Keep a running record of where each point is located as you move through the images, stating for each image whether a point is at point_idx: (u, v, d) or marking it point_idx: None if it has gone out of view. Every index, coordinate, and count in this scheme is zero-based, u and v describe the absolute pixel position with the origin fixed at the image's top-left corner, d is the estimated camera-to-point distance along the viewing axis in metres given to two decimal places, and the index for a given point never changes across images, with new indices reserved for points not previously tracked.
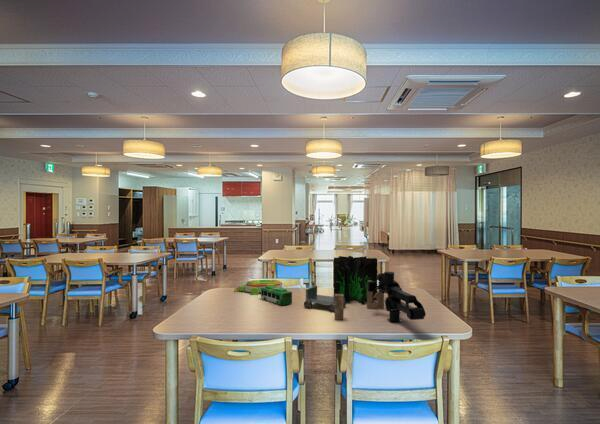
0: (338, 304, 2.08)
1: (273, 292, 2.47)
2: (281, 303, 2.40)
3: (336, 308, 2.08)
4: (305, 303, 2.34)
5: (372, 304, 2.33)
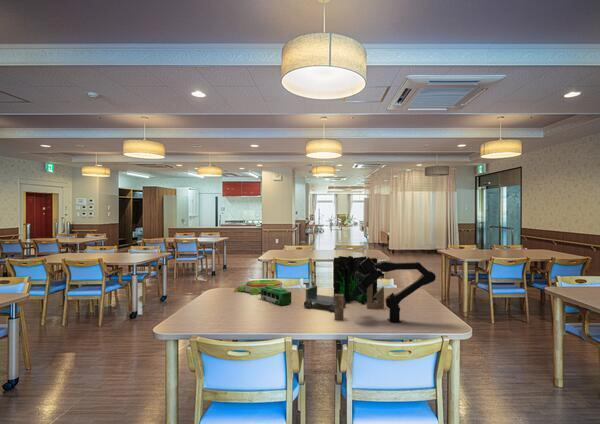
0: (338, 304, 2.08)
1: (272, 292, 2.47)
2: (280, 303, 2.40)
3: (336, 308, 2.08)
4: (305, 303, 2.34)
5: (372, 304, 2.33)
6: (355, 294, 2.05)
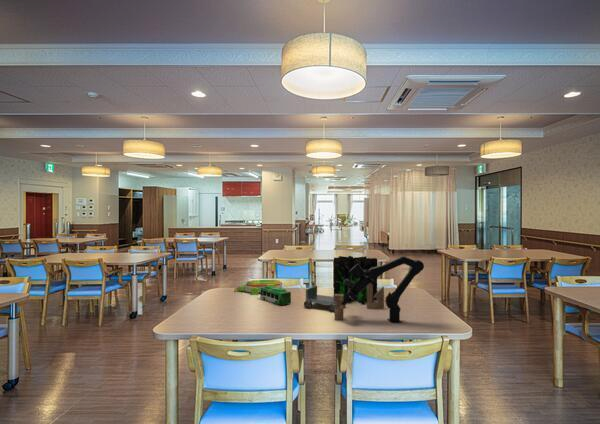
0: (338, 304, 2.08)
1: (272, 292, 2.47)
2: (280, 303, 2.40)
3: (336, 308, 2.08)
4: (305, 303, 2.34)
5: (372, 304, 2.33)
6: (345, 301, 2.04)
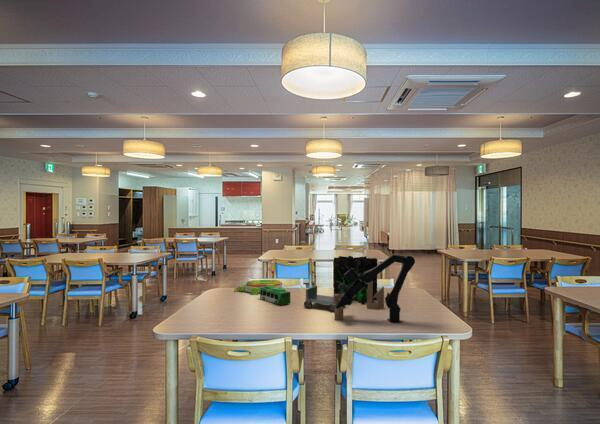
0: None
1: (272, 292, 2.47)
2: (279, 303, 2.40)
3: (336, 308, 2.08)
4: (305, 303, 2.34)
5: (372, 304, 2.33)
6: (340, 305, 2.07)
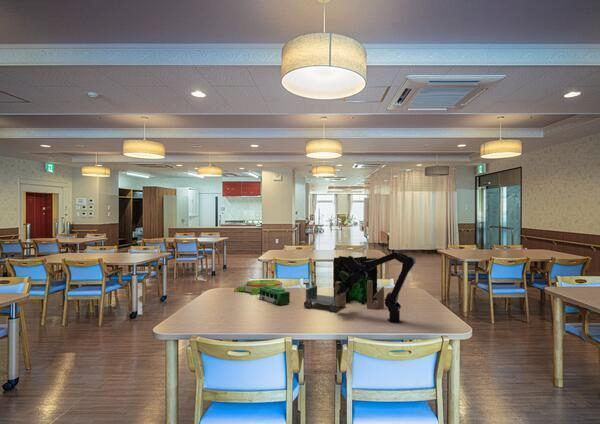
0: None
1: (271, 292, 2.48)
2: (279, 303, 2.40)
3: (336, 295, 2.19)
4: (305, 303, 2.34)
5: (372, 304, 2.33)
6: (339, 292, 2.17)
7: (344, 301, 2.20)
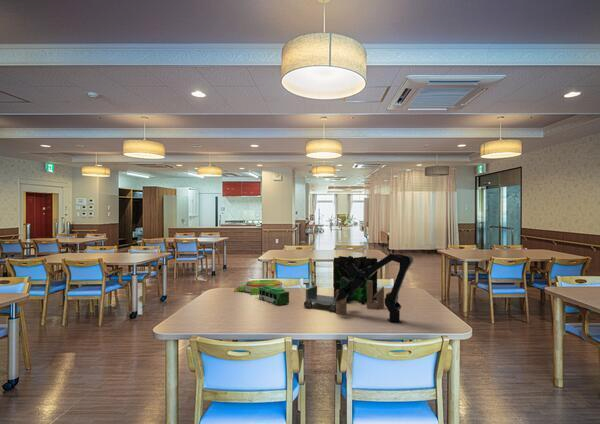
0: None
1: (270, 292, 2.48)
2: (278, 303, 2.41)
3: (337, 303, 2.21)
4: (305, 303, 2.34)
5: (372, 304, 2.33)
6: (338, 298, 2.17)
7: (345, 309, 2.21)
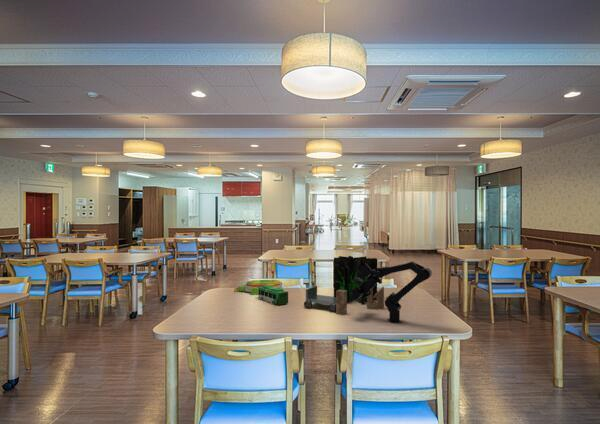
0: (339, 300, 2.20)
1: (270, 292, 2.48)
2: (277, 303, 2.41)
3: (337, 303, 2.21)
4: (305, 303, 2.34)
5: (372, 304, 2.33)
6: (352, 299, 2.13)
7: (345, 309, 2.21)
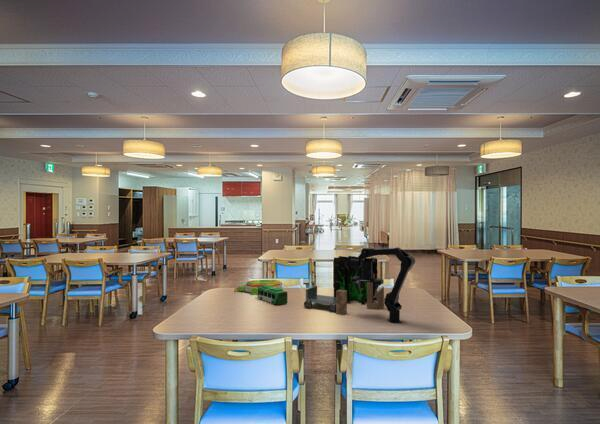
0: (339, 300, 2.20)
1: (269, 292, 2.48)
2: (276, 303, 2.41)
3: (337, 303, 2.21)
4: (305, 303, 2.34)
5: (372, 304, 2.33)
6: None
7: (345, 309, 2.21)
